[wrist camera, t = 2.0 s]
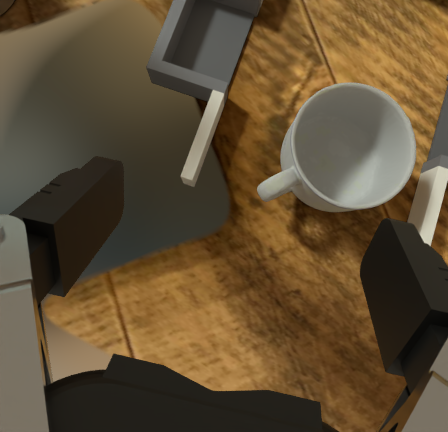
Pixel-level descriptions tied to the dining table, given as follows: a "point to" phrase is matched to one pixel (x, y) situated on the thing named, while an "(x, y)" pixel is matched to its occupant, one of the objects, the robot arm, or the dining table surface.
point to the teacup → (345, 150)
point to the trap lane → (221, 76)
